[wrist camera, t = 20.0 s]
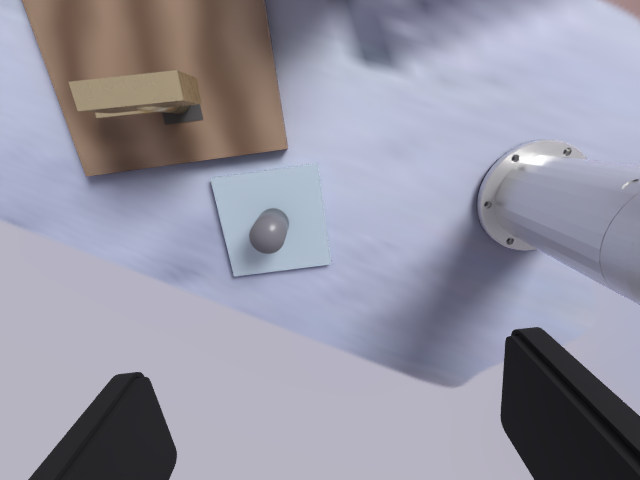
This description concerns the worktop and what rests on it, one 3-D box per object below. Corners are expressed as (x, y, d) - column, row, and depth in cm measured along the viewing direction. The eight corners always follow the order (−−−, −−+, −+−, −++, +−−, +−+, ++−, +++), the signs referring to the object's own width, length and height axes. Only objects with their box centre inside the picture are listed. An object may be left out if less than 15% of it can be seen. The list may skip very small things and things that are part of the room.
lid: (317, 162, 37) (317, 169, 31) (330, 259, 41) (333, 282, 34) (214, 176, 37) (193, 186, 31) (236, 271, 41) (222, 296, 35)
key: (105, 95, 32) (27, 83, 24) (215, 83, 32) (176, 67, 23) (113, 120, 33) (39, 118, 24) (219, 109, 33) (184, 103, 24)
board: (242, -139, 28) (238, -154, 26) (288, 148, 36) (286, 149, 34) (-1, -97, 29) (-19, -110, 27) (95, 174, 37) (85, 176, 35)
